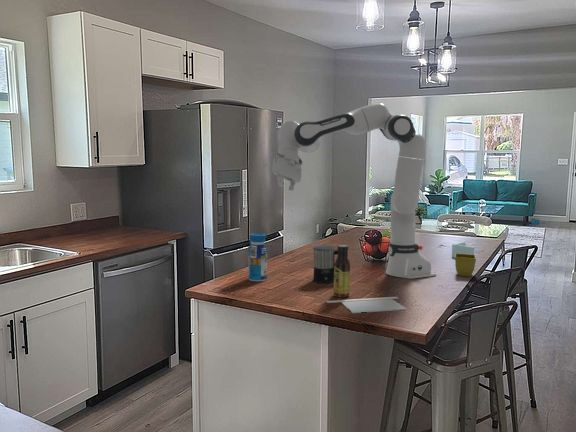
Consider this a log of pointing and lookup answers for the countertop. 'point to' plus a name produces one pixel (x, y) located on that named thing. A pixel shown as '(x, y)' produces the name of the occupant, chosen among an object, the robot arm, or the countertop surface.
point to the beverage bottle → (257, 258)
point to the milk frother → (324, 264)
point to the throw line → (361, 299)
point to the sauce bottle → (342, 273)
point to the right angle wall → (461, 249)
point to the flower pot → (465, 264)
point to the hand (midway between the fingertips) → (286, 188)
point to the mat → (373, 306)
